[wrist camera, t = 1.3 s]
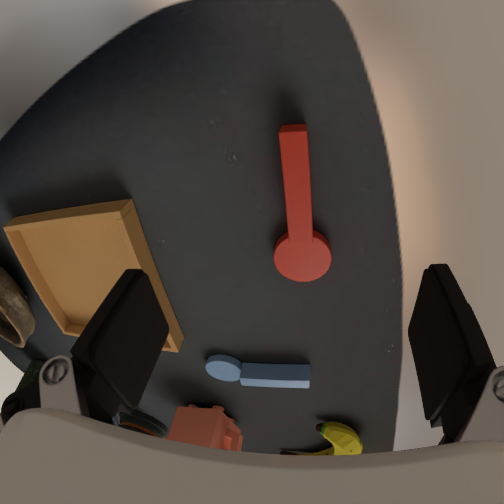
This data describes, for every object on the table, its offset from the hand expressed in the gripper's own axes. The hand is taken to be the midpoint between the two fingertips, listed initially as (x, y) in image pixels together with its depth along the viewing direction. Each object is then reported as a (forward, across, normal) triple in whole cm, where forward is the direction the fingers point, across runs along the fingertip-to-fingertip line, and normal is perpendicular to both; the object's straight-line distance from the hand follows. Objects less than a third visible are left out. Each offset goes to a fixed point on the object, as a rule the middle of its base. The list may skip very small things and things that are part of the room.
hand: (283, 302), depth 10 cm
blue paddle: (+11, +5, +20) cm, 23 cm away
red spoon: (+11, 0, +2) cm, 11 cm away
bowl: (+11, +39, +10) cm, 42 cm away
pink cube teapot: (+12, +14, +34) cm, 38 cm away
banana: (+12, -2, +42) cm, 43 cm away
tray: (+11, +20, +8) cm, 24 cm away
